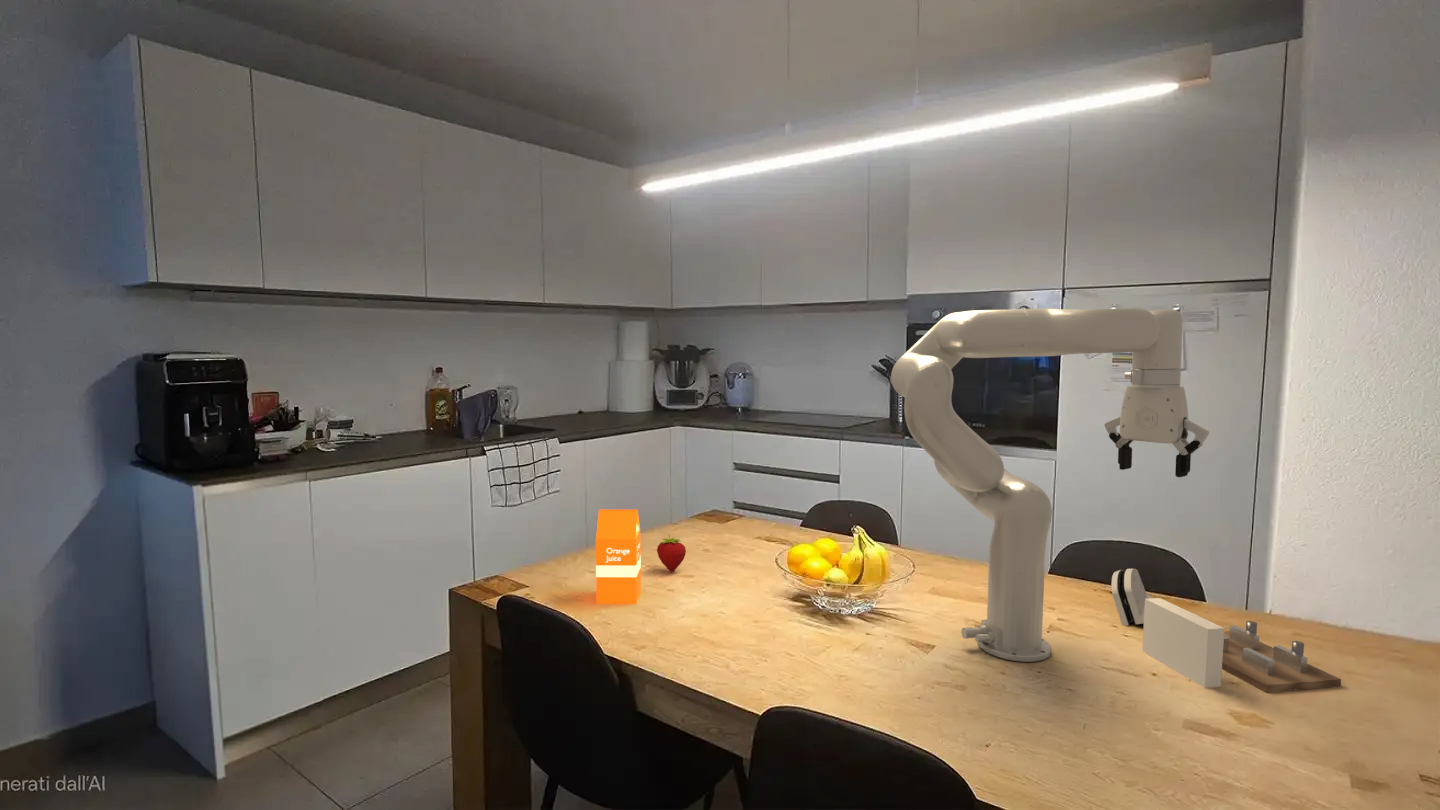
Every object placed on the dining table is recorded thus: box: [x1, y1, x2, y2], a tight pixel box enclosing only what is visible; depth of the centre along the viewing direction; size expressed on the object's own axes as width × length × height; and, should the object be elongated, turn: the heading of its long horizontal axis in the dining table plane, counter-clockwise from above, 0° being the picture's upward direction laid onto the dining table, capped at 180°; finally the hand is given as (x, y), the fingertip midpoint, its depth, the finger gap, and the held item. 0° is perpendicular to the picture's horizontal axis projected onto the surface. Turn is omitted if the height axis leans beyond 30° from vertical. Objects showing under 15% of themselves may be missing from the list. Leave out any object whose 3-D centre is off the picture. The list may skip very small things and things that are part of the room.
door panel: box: [1141, 597, 1225, 689], centre depth 124 cm, size 3×14×10 cm, turn 9°
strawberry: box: [656, 535, 687, 573], centre depth 177 cm, size 6×8×10 cm
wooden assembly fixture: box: [1222, 620, 1342, 693], centre depth 126 cm, size 14×20×5 cm
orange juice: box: [595, 509, 642, 605], centre depth 159 cm, size 8×9×20 cm
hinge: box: [1110, 568, 1154, 626], centre depth 149 cm, size 17×5×10 cm, turn 146°
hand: (1152, 472), depth 131 cm, fingers open, 9 cm apart
